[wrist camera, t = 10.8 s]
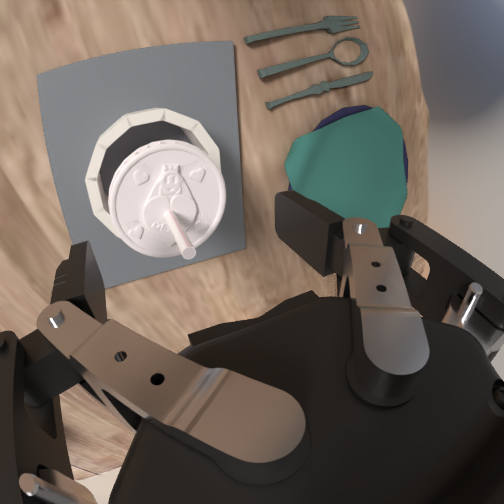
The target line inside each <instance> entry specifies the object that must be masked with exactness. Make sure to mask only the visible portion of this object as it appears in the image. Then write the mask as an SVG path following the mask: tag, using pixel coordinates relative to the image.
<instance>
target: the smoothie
mask: <svg viewBox="0 0 504 504" xmlns="http://www.w3.org/2000/svg"><path fill="white" fill-rule="evenodd" d="M108 205H109V211H110V217H111V221H112V224H113V226H114V228H115V230H116V232H117V234H118V235H119V236H120V238H121V239H122V240H123V241H124V242H125V243H126V244H127V245H128V246H129V247H131V248H132V249H134V250H136V251H137V252H139V253H142V254H144V255H148V256H152V257H163V258H165V257H174V256H178V255H182V256H183V257H184V258H185V259H192V258H193V257H194V256H195V254H196V250H195V248H197V247H198V246H200V245H201V244H202V243H203V242H205V241H206V240H207V239H208V238H209V237H210V236H211V235H212V233H213V232H214V231H215V229H216V228H217V226H218V224H219V223H220V221H221V218H222V216H223V213H224V209H225V205H226V187H225V182H224V179H223V176H222V174H221V172H220V170H219V168H218V166H217V165H216V164H215V162H214V161H213V160H212V159H211V158H210V157H209V156H208V155H207V154H206V153H204V152H203V151H202V150H201V149H200V148H198V147H196V146H194V145H192V144H189V143H187V142H184V141H177V140H162V141H156V142H151V143H149V144H147V145H143V146H141V147H139V148H138V149H136V150H135V151H134V152H133V153H132V154H130V155H129V156H128V157H127V158H126V159H124V161H123V162H122V164H121V165H120V166H119V168H118V169H117V171H116V172H115V174H114V177H113V179H112V182H111V185H110V188H109V198H108Z"/></svg>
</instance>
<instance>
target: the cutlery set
mask: <svg viewBox="0 0 504 504" xmlns="http://www.w3.org/2000/svg"><path fill="white" fill-rule="evenodd" d="M356 18H357V17H347V16H326V17H324V19H323V21H321V22H318V23H315V24H308V25H302V26H296V27H290V28H285V29H279V30H274V31H269V32H265V33H260V34H256V35H253V36H247V37H244V40H245V43H246V44H248V43H250V42H255V41H259V40H263V39H267V38H272V37H277V36H281V35H286V34H292V33H297V32H303V31H309V30H315V29H320V30H323V29H326V30H327V32H328V33H335V32H339V31H344V30H349V29H355V28H360V26H343V25H349V24H355V23H359V22H358V21H342V20H349V19H356ZM342 40H351V41H354V42H355V43H357V44H358V45H359V46H360V49H361V54H360V55H359V57H358V58H357V60H355V61H353V62H350V63H347V62H341V61H340V60H338V59H336V58H335V56H334V53H333V49H334V47H335V45H336V44H337V43H338V42H340V41H342ZM342 40H339V41H337V42H336V43H335V45H334V46H333V48H332V50H331V51H330V52H329V53H328V54H323V55H318V56H313V57H309V58H304V59H300V60H295V61H291V62H287V63H283V64H279V65H275V66H271V67H267V68H264V69H259V70H257V72H258V75H259V78H264V77H265V76H268V75H272V74H275V73H278V72H281V71H284V70H287V69H290V68H293V67H297V66H300V65H303V64H307V63H310V62H313V61H317V60H320V59H324V58H328V57H330V58H333V59H335V60H336V61H338V62H340V63H341V64H343V65H356V64H358V63H360V62H362V61H364V59H365V58H366V56H367V55H368V53H369V51H368V47H367V44H366V43H364V42H363V41H361V40H360V39H358V38H349V37H346V38H344V39H342ZM372 75H373V72H367V73H363V74H359V75H355V76H351V77H347V78H343V79H340V80H336V81H333V82H329V83H327V81H322V82H321V84H319V85H318V84H314V85H312V86H311V87H310V88H308V89H307V90H304V91H301V92H298V93H295V94H293V95H290V96H288V97H285V98H282V99H278V100H275V101H272V102H265V104H266V107H267V109H271V108H272V107H273V106H276V105H278V104H281V103H283V102H286V101H288V100H292V99H295V98H300V97H303V96H306V95H309V94H321V93H322V91H324V92H330V91H329V88H337V87H344V86H348V85H352V84H355V83H359V82H362V81H366V80H368V79H369V78H370V77H371V76H372ZM285 169H286V173H287V175H288V178H289V181H290V182H289V189H288V191H289V190H294V191H296V192H298V193H300V194H301V195H303V196H305V197H307V198H308V199H311V200H314V201H316V202H318V203H320V204H322V205H323V206H325V207H327V208H328V209H329V210H332V211H333V212H335V213H337V214H338V215H340V216H342V217H343V218H345V219H347V218H351V217H360V218H365V219H368V220H370V221H372V222H374V223H375V224H376V225H377V228H385V227H389V224H390V219H391V217H392V216H394V215H400V213H401V211H402V208H403V206H404V203H405V201H406V198H407V179H408V158H407V152H406V147H405V143H404V140H403V134H402V130H401V127H400V126H399V125H398V124H397V122H395V121H394V120H393V119H392V118H391V117H390V116H389V115H388V114H387V113H386V112H384V110H383V109H382V108H380V107H379V106H378V107H375V108H372V107H369V106H366V105H362V106H354V107H346V108H342V109H340V110H338V111H337V112H335V113H333V114H332V115H330V116H328V117H327V118H325V119H324V120H322V121H321V122H320V123H319V125H318V126H317V127H316V128H315V129H314V131H313V132H311V133H308V134H305V135H303V136H301V137H299V138H297V139H296V140H295V141H294V142H293V144H292V146H291V149H290V151H289V154H288V156H287V158H286V161H285Z"/></svg>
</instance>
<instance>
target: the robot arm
mask: <svg viewBox="0 0 504 504" xmlns="http://www.w3.org/2000/svg"><path fill="white" fill-rule="evenodd" d="M275 229H276V233H277V235H278V237H279V238H280V239H281V240H282V241H283V242H284V243H285V244H287V245H288V246H289V247H290V248H291V249H292V250H293V251H295V252H296V253H297V254H298V255H299V256H300V257H301V258H303V259H304V260H305V261H306V262H307V263H308V264H309V265H310V266H312V267H313V268H314V269H315V270H316V271H317V272H318V273H319V274H321V275H322V276H323V277H325V276H327V275H330V274H332V273H336V276H335V297H320V298H319V297H318V296H317V295H316V294H315V293H314V292H313V291H312V290H311V291H308V292H305V293H303V294H300V295H298V296H295V297H293V298H290V299H287V300H285V301H283V302H282V303H280V304H279V305H277V306H276V307H274V308H273V309H271V310H270V311H268V312H266V313H265V314H263V315H262V316H260V317H258V318H254V319H248V320H241V321H235V322H228V323H221V324H218V325H215V326H212V327H209V328H206V329H203V330H200V331H197V332H194V333H191V334H188V337H189V341H190V344H191V345H190V346H188V347H187V348H185V349H184V350H182V351H181V352H180V353H178V354H176V353H174V352H172V351H170V350H168V349H166V348H164V347H162V346H160V345H158V344H157V343H155V342H153V341H151V340H149V339H147V338H145V337H143V336H142V335H140V334H138V333H136V332H134V331H133V330H131V329H129V328H127V327H126V326H124V325H122V324H120V323H119V322H117V321H115V320H113V319H108V320H107V312H106V299H105V287H104V282H103V278H102V275H101V272H100V270H99V267H98V264H97V261H96V258H95V256H94V253H93V250H92V247H91V244H90V242H89V241H88V240H87V241H84V242H81V243H78V244H74V245H71V249H70V255H69V259H67V260H64V261H62V263H61V264H60V265H59V267H58V268H57V270H56V275H55V280H54V286H53V291H52V297H51V303H50V305H49V306H47V307H46V308H45V309H44V310H43V311H42V312H41V313H40V315H39V316H38V319H37V328H38V329H36V330H35V331H33V332H32V333H30V334H28V335H27V336H25V337H23V338H21V339H20V340H19V339H18V337H17V336H16V334H15V333H14V332H12V331H3V332H1V333H0V504H97V502H96V500H95V498H94V496H93V495H92V493H91V492H90V491H89V490H88V489H87V488H86V487H85V486H83V485H81V484H79V483H78V482H76V481H74V477H73V473H72V469H71V465H70V460H69V456H68V451H67V445H66V440H65V434H64V428H63V421H62V414H61V406H60V397H59V394H61V393H62V392H64V391H66V390H68V389H69V388H71V387H73V386H74V385H76V384H77V385H78V386H79V387H81V388H82V389H83V390H84V391H85V392H86V393H87V394H88V395H90V396H91V397H92V398H93V399H94V400H95V401H97V402H98V403H99V404H100V405H101V406H103V407H104V408H105V409H106V410H107V411H109V412H110V413H111V414H112V415H113V416H115V417H116V418H117V419H118V420H119V421H120V422H121V423H122V424H123V425H124V426H126V427H127V428H128V429H129V430H130V431H132V432H133V433H134V434H135V436H134V439H133V441H132V443H131V446H130V448H129V450H128V453H127V455H126V457H125V460H124V462H123V465H122V467H121V469H120V472H119V474H118V477H117V479H116V482H115V484H114V486H113V489H112V491H111V494H110V498H109V503H108V504H504V381H503V380H502V379H501V378H500V376H499V375H498V374H497V372H496V371H495V369H494V367H493V366H492V364H491V361H492V360H493V358H494V357H495V356H496V354H497V352H498V351H499V350H500V348H501V347H502V345H503V344H504V279H503V278H502V277H500V276H499V275H498V274H496V273H495V272H494V271H492V270H491V269H490V268H488V267H487V266H486V265H484V264H483V263H482V262H480V261H479V260H477V259H476V258H474V257H473V256H472V255H470V254H469V253H467V252H466V251H464V250H463V249H461V248H460V247H459V246H457V245H455V244H454V243H452V242H451V241H449V240H448V239H446V238H445V237H443V236H442V235H440V234H439V233H437V232H436V231H434V230H432V229H430V228H429V227H428V226H426V225H424V224H423V223H421V222H419V221H418V220H416V219H414V218H412V217H409V216H406V215H394V216H392V217H391V219H390V224H389V227H385V228H377V225H376V224H375V223H374V222H372V221H370V220H368V219H365V218H360V217H351V218H347V219H345V218H343V217H342V216H340V215H338V214H337V213H335V212H333V211H332V210H329V209H328V208H327V207H325V206H323V205H322V204H320V203H318V202H316V201H314V200H311V199H308V198H307V197H305V196H303V195H301V194H300V193H298V192H296V191H294V190H289V191H284V192H279V193H277V194H276V195H275ZM415 252H416V253H417V254H419V255H420V256H421V257H423V258H424V259H425V260H427V262H428V263H429V266H430V273H429V276H428V278H427V280H426V279H425V278H423V277H422V276H421V275H420V274H418V273H417V272H416V271H415V270H413V269H412V268H411V265H412V261H413V258H414V254H415ZM412 307H413V308H414V309H413V308H412ZM420 314H421V315H422V316H423V317H424V318H423V317H421V316H420Z"/></svg>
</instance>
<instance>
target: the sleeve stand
mask: <svg viewBox="0 0 504 504" xmlns="http://www.w3.org/2000/svg"><path fill="white" fill-rule="evenodd" d="M37 83H38V94H39V102H40V110H41V117H42V124H43V130H44V136H45V142H46V147H47V152H48V157H49V161H50V166H51V170H52V175H53V179H54V183H55V187H56V191H57V194H58V198H59V202H60V205H61V209H62V212H63V215H64V219H65V222H66V225H67V228H68V231H69V234H70V237H71V240H72V243H73V245H74V244H78V243H81V242H84V241H87V240H88V241H89V242H90V244H91V247H92V250H93V253H94V256H95V258H96V261H97V264H98V267H99V270H100V272H101V275H102V278H103V282H104V287H105V289H106V288H109V287H113V286H116V285H120V284H123V283H126V282H130V281H133V280H137V279H140V278H144V277H147V276H151V275H154V274H158V273H161V272H164V271H168V270H171V269H175V268H178V267H182V266H185V265H189V264H192V263H196V262H199V261H203V260H206V259H210V258H213V257H217V256H220V255H224V254H227V253H231V252H234V251H238V250H241V249H245V248H246V244H245V229H244V213H243V198H242V182H241V166H240V150H239V134H238V117H237V101H236V84H235V66H234V48H233V41H211V42H192V43H180V44H170V45H161V46H153V47H146V48H140V49H134V50H128V51H123V52H117V53H113V54H108V55H103V56H99V57H95V58H91V59H87V60H83V61H79V62H76V63H72V64H69V65H65V66H62V67H59V68H56V69H53V70H50V71H47V72H44V73H41V74H38V75H37ZM162 140H177V141H184V142H187V143H189V144H192V145H194V146H196V147H198V148H200V149H201V150H202V151H203V152H204V153H206V154H207V155H208V156H209V157H210V158H211V159H212V160H213V161H214V162H215V164H216V165H217V166H218V168H219V170H220V172H221V174H222V176H223V179H224V182H225V187H226V205H225V209H224V213H223V216H222V218H221V221H220V223H219V224H218V226H217V228H216V229H215V231H214V232H213V233H212V235H211V236H210V237H209V238H208V239H207V240H206V241H205V242H203V243H202V244H201V245H200V246H198V247H197V248H195V250H196V254H195V256H194V257H193V258H192V259H185V258H184V257H183V256H182V255H178V256H174V257H165V258H163V257H152V256H148V255H144V254H142V253H139V252H137V251H136V250H134V249H132V248H131V247H129V246H128V245H127V244H126V243H125V242H124V241H123V240H122V239H121V238H120V236H119V235H118V234H117V232H116V230H115V228H114V226H113V224H112V221H111V217H110V211H109V205H108V198H109V188H110V185H111V182H112V179H113V177H114V174H115V172H116V171H117V169H118V168H119V166H120V165H121V164H122V162H123V161H124V159H126V158H127V157H128V156H129V155H130V154H132V153H133V152H134V151H135V150H136V149H138V148H139V147H141V146H143V145H147V144H149V143H151V142H156V141H162Z"/></svg>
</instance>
